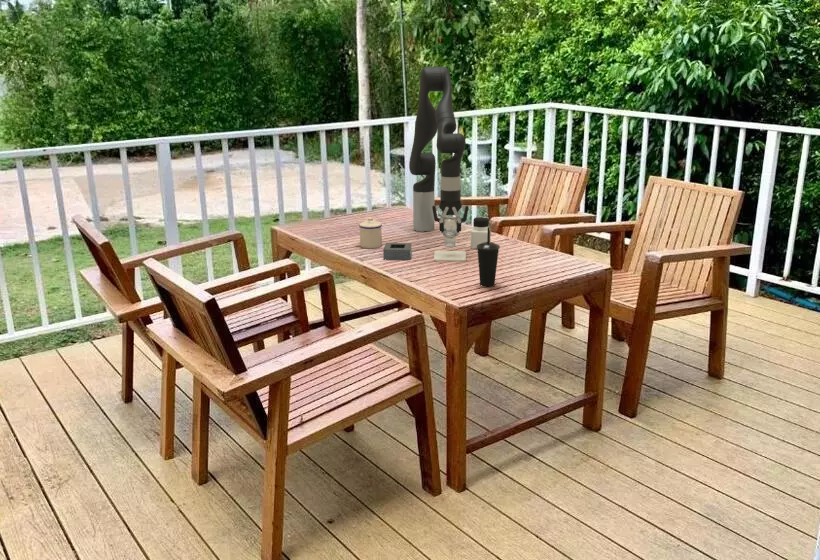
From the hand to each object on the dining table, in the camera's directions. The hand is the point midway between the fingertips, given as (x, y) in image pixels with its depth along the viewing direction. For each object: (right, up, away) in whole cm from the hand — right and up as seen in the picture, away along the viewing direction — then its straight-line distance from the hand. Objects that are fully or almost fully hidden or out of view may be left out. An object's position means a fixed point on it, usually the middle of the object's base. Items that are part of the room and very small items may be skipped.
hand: (450, 232), depth 279 cm
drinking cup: (+11, -20, -30) cm, 38 cm away
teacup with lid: (-32, -4, +20) cm, 38 cm away
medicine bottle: (+13, -5, +17) cm, 22 cm away
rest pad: (0, -9, +3) cm, 10 cm away
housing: (-20, -9, +4) cm, 22 cm away
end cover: (0, -5, +2) cm, 6 cm away
